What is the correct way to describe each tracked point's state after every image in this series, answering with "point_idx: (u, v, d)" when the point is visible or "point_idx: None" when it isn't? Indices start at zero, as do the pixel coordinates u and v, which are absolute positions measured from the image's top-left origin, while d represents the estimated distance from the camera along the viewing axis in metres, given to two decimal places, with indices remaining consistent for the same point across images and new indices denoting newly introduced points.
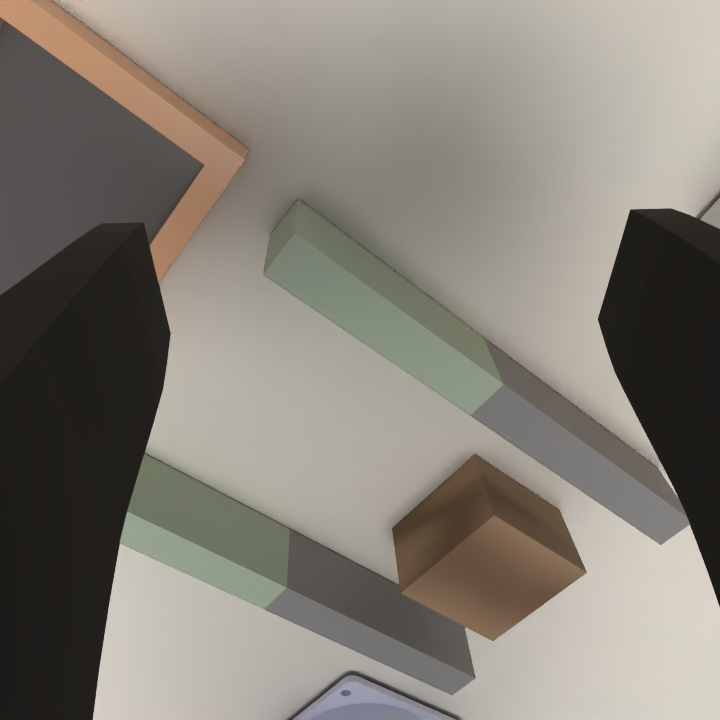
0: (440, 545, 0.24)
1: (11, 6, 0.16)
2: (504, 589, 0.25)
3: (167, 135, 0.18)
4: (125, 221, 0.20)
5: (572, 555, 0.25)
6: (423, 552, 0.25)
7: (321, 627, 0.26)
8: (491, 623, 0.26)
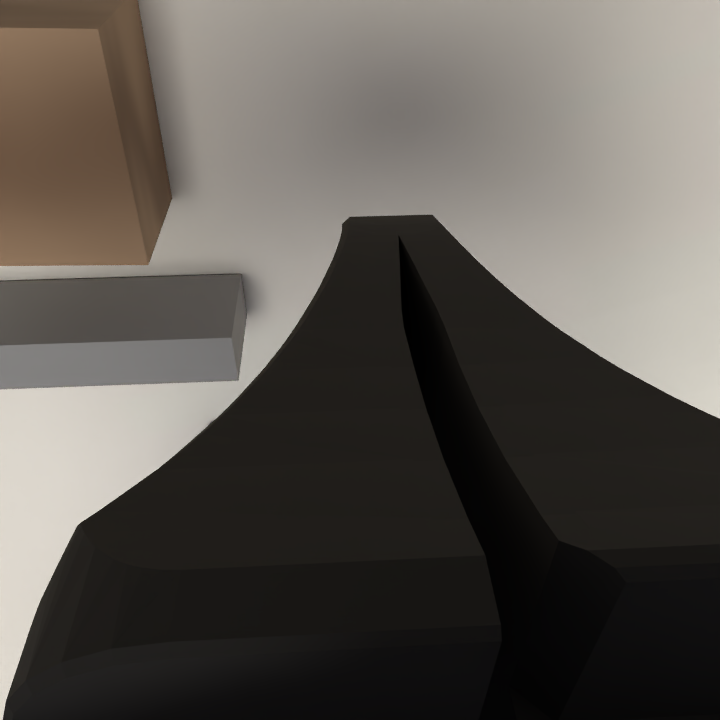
0: None
1: None
2: (31, 161, 0.13)
3: None
4: None
5: (74, 20, 0.12)
6: None
7: None
8: (103, 236, 0.15)
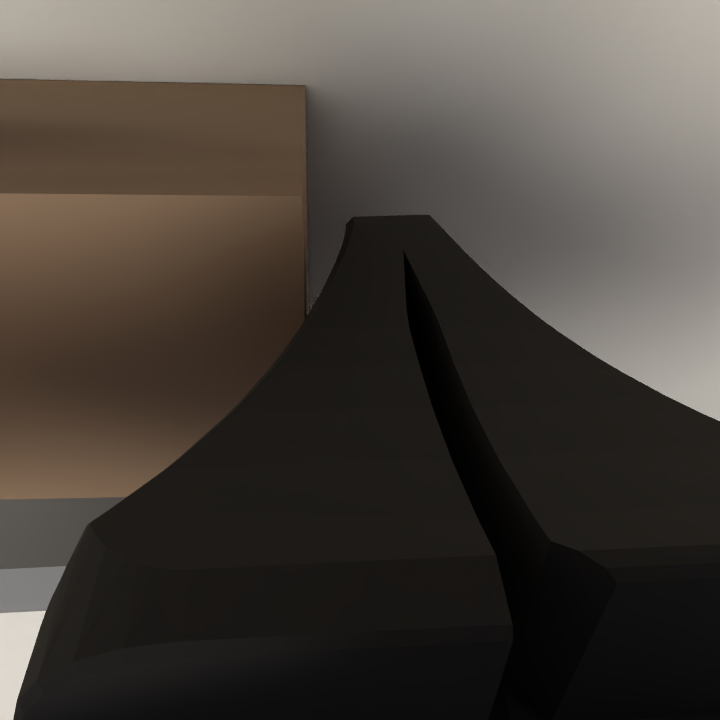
0: None
1: None
2: (158, 374, 0.08)
3: None
4: None
5: (252, 173, 0.07)
6: None
7: (48, 599, 0.13)
8: None
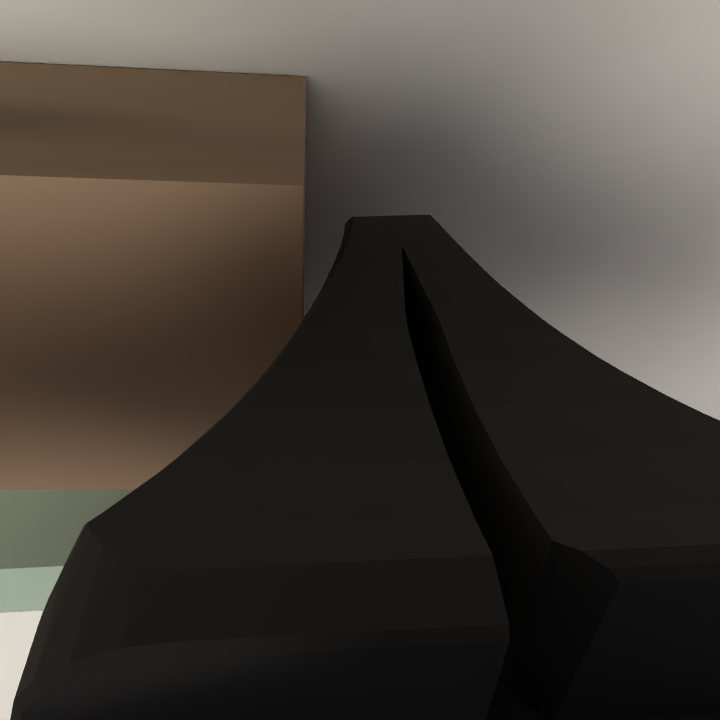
0: None
1: None
2: (152, 365, 0.08)
3: None
4: None
5: (253, 161, 0.07)
6: None
7: None
8: None
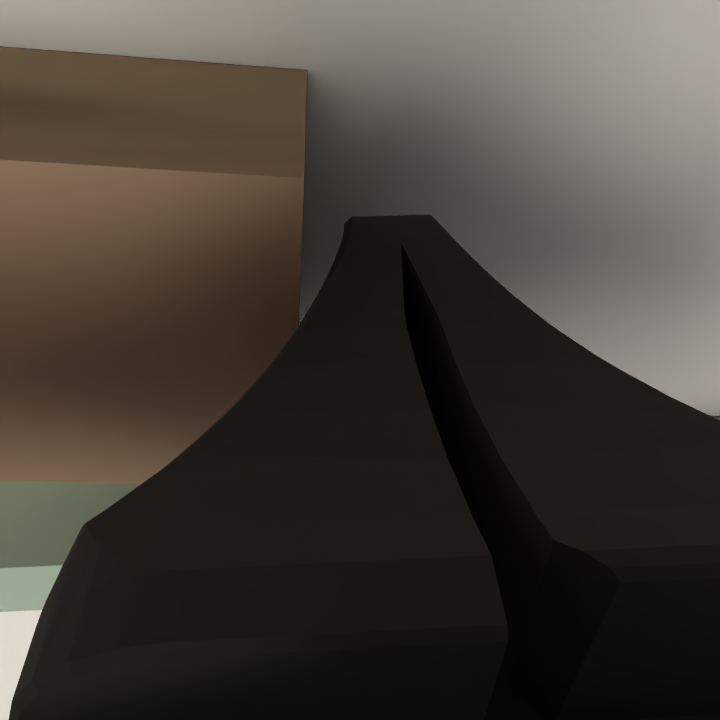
0: None
1: None
2: (146, 357, 0.08)
3: None
4: None
5: (253, 153, 0.07)
6: None
7: None
8: None
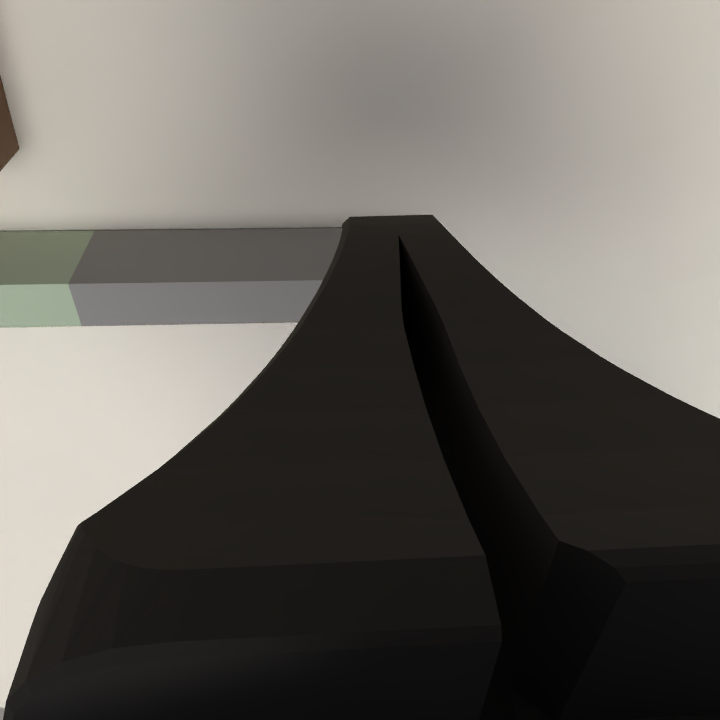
0: None
1: None
2: None
3: None
4: None
5: None
6: None
7: (164, 314, 0.19)
8: None
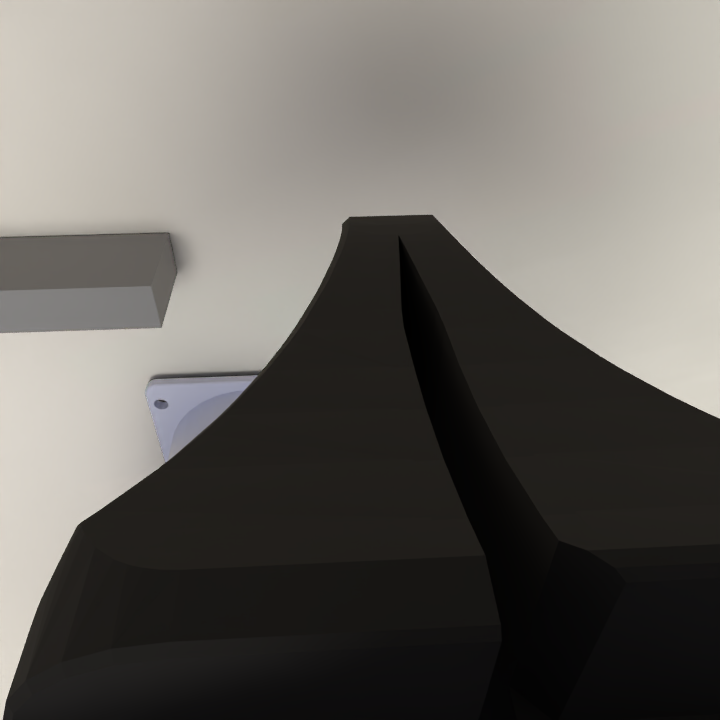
0: None
1: None
2: None
3: None
4: None
5: None
6: None
7: None
8: None
